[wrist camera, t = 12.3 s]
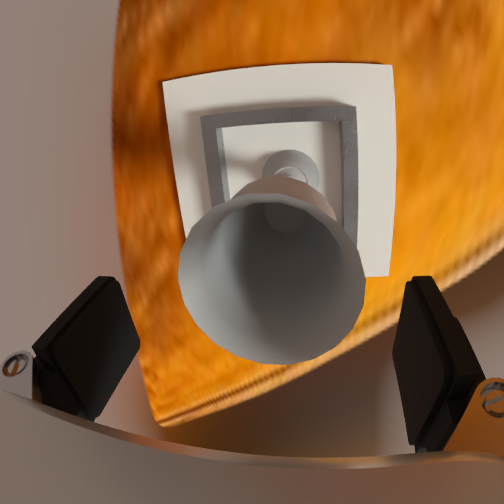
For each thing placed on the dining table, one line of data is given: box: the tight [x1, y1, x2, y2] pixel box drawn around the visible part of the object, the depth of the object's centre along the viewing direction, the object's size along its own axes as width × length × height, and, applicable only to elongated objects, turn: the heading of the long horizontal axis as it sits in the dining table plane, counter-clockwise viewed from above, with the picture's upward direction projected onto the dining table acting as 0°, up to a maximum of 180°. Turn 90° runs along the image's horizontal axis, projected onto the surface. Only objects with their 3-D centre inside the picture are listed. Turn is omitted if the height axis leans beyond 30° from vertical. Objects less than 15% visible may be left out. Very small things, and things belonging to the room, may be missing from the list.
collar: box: [200, 106, 359, 248], centre depth 27 cm, size 12×12×2 cm
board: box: [162, 63, 396, 277], centre depth 28 cm, size 20×20×1 cm
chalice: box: [178, 150, 366, 365], centre depth 19 cm, size 7×7×18 cm
